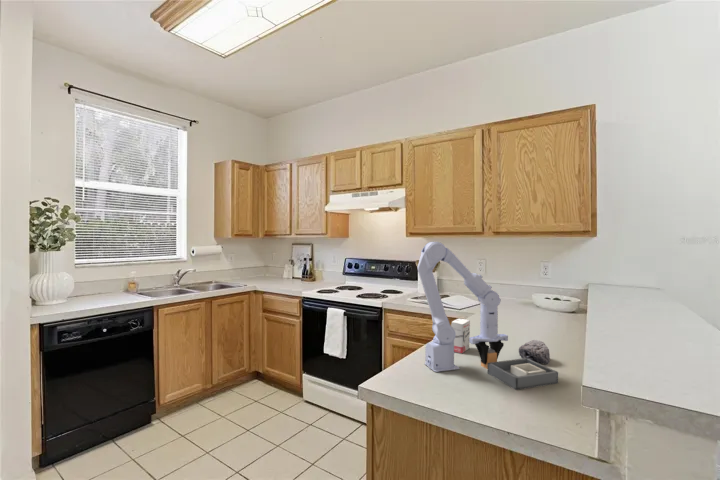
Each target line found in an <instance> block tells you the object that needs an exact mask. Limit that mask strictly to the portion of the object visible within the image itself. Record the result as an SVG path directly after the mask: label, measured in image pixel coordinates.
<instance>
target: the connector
mask: <svg viewBox="0 0 720 480" xmlns="http://www.w3.org/2000/svg"><path fill="white" fill-rule="evenodd" d="M490 362H498V359H497V353H496V352H495V350H493V349H491V348H490V347H489V349H488V353H487V364H483V363H482V362H481V361H480V366H481V367H483V368H484V369H486V370H488V363H490Z"/></svg>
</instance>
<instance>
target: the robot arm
mask: <svg viewBox="0 0 720 480" xmlns="http://www.w3.org/2000/svg"><path fill="white" fill-rule="evenodd" d="M441 261H442V262H444V263H446V264H449V266H450V267H451V268H452V269H453V270H455V271H456V273H458V274H459V275H460V276H461V277H462V278H463V285H465V286H466V288H468V290H469V291H470V292H471V293H472V294H473V295H474V296H475V297H476V298H477V300H478V302H480V311H479V314H480V317H479V319H480V320H479V321H480V322H479V324H480V325H479V326H480V327H479V331H480V333H479V334H478V335H475V336H470V337H469V344H471V345H474V346H475V347H476V349H477V351H478V354H479V358H480V363H481V362H482V363H483V364H487V353H488V349H489V348H491V349H493V350H495V352H496V353H497V360H498V358H499V355H500V352H501V350H502V349H503V348H504V344H505V343H504V341H505V342H508V341H509V335H508V334H505V333H500V334H499V333H498V328H499V326H498V325H499V324H498V322H499V317H498V316H499V315H498V313H499V312H498V311H499V310H498V309H499V308H498V307H499V305H500V304H501V302H502V301H501V298H500V295H499V293H498V292H497V291H495V290H492V286H491V284H488V283H487V282H486V281H485V280H484V279H483V276H482V275H481V274H480V273H479V274H478V273H476V272H471V271H470V270H469V268H468V267H466V265H464V263H463V262H462V261H461V260H460V259H459V258H458V257H457V256H456V254H455V253H453V251H452V250H450V249H449V248H448V247H446V246H445V245H444V243H442V242H439V241H428V243H426V244H425V245H424V246H423V248H422V249H421V252H420V257H419V259H418V264H417V267H416V268H417V273H418V276H419V278H420V281H421V285H422V288H423V291H424V295H425V297H426V300H427V304H428V307H429V312H430V314H431V320H432V327H431V330H432V332H433V334H434V336H433V338H432V341H431V342H427V343H426V345H425V361H424V365H425V366H427V367H428V368H429V369H431V370H432V371H433V372H435V373H437V372H446V371H454V370H455V371H456V370H459V369H460V367H459V366H458V365H456V364H455V352H454V339H455V336H456V333H455V330H454V329H453V328H452V327H451V324H450V320H449V318H448V317H447V314H446V311H445V309H444V308H445V307H444V304H443V301H442V298H441V295H440V292H439V288H438V285H437V282H436V278H435V276H434V273H433V270H434V268H435V267H436V266H437V264H438V263H439V262H441ZM487 343H488V344H489V345H488V344H487Z"/></svg>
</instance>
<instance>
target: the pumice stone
mask: <svg viewBox="0 0 720 480" xmlns="http://www.w3.org/2000/svg"><path fill="white" fill-rule="evenodd" d="M518 353H519V356H520V357H521V358H520V359H523V358H528V359H530V360H532V361H534V362H537V363H539V364H541V365H548V364H549V363H550V361H551V358H550V357H551V356H550V349H549V348H548V346H547V345H546V343H545V342H544V341H541V340H537V339H536V340H535V339H533V340H529V341H527V342H525V343H524V344H521V345H519V347H518Z"/></svg>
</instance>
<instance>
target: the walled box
mask: <svg viewBox="0 0 720 480" xmlns="http://www.w3.org/2000/svg"><path fill="white" fill-rule="evenodd" d="M487 374H488V375H490V376H491V377H493V378H495V379H497V380H498V381H500V382H502V383H504V384H505V385H507V386H509V387H510V388H512V389H513V390H515V391H517V390H523V389H529V388H537V387H543V386H550V385H555V384H559V371H557V370H555V369H552V368H550V367H548V366H545V365H544V364H540V363H537V362H534V361H532V360H530V359H528V358H515V359H508V360H501V361H497V362H490V363H488V369H487Z"/></svg>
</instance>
